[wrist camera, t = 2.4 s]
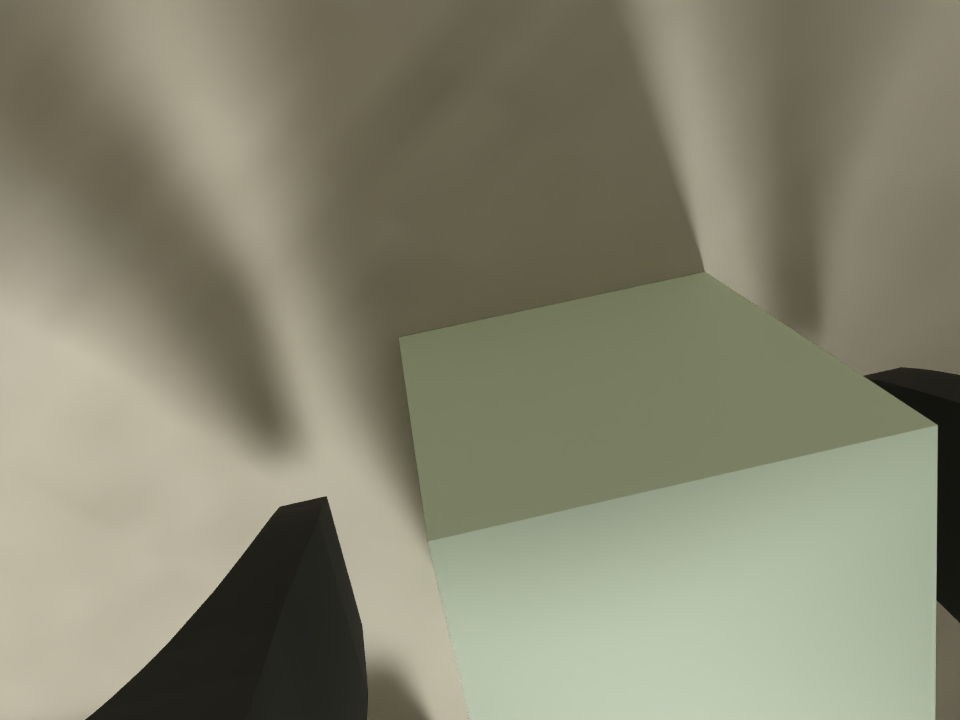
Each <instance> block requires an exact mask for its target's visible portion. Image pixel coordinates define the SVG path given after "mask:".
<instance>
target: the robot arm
mask: <svg viewBox="0 0 960 720" xmlns="http://www.w3.org/2000/svg"><path fill="white" fill-rule="evenodd" d="M864 377H865V378H867V379H868V380H870V381H871V382H873V383H874V384H876V385H878V386H879V387H881V388H882V389H884V390H885V391H887V392H888V393H890V394H891V395H893V396H894V397H896V398H897V399H899V400H900V401H902V402H903V403H905V404H906V405H908V406H909V407H911V408H912V409H914V410H915V411H917V412H919V413H920V414H922V415H923V416H925V417H926V418H928V419H929V420H931V421H932V422H934V423H935V424H937V425H938V457H937V576H936V600H937V601H938V602H939V603H940V604H941V605H942V606H943V607H944V608H945V609H946V610H947V611H948V612H949V613H950V614H951V615H952V616H953V617H954V618H956V619H957V620H958V621H959V622H960V375H956V374H950V373H944V372H939V371H932V370H925V369H916V368H897V369H892V370H888V371H883V372H879V373H874V374H870V375H865V376H864ZM367 710H368V687H367V674H366V662H365V651H364V640H363V629H362V623H361V620H360V616H359V612H358V609H357V605H356V601H355V598H354V594H353V590H352V587H351V583H350V580H349V576H348V572H347V569H346V565H345V561H344V558H343V554H342V550H341V547H340V543H339V540H338V536H337V532H336V529H335V525H334V521H333V518H332V514H331V510H330V507H329V503H328V500H327V496H326V497H321V498H317V499H312V500H308V501H303V502H299V503H294V504H290V505H285V506H281V507H279V508H278V510H277V511H276V512H275V513H274V514H273V516H272V517H271V518H270V519H269V521H268V522H267V523H266V525H265V526H264V527H263V529H262V530H261V531H260V533H259V534H258V535H257V537H256V538H255V539H254V541H253V542H252V543H251V545H250V546H249V547H248V549H247V550H246V551H245V553H244V554H243V555H242V556H241V558H240V559H239V560H238V561H237V563H236V564H235V565H234V567H233V568H232V569H231V570H230V572H229V573H228V574H227V575H226V577H225V578H224V579H223V581H222V582H221V583H220V584H219V586H218V587H217V588H216V589H215V591H214V592H213V593H212V594H211V595H210V596H209V598H208V599H207V600H206V601H205V602H204V603H203V604H202V605H201V607H200V608H199V609H198V610H197V611H196V612H195V613H194V615H193V616H192V617H191V618H190V619H189V620H188V621H187V622H186V624H185V625H184V626H183V627H182V628H181V629H180V630H179V631H178V633H177V634H176V635H175V636H174V637H173V638H172V639H171V641H170V642H169V643H168V644H167V645H166V646H165V647H164V648H163V649H162V650H161V651H160V652H159V653H158V654H157V655H156V656H155V657H154V658H153V659H152V660H151V661H150V662H149V663H148V664H147V665H146V666H145V667H144V668H143V669H142V670H141V671H140V672H139V673H138V674H137V675H136V676H134V677H133V678H132V679H131V680H130V681H129V682H128V683H127V684H126V685H125V686H124V687H123V688H121V689H120V690H119V691H118V692H117V693H116V694H115V695H114V696H113V697H112V698H111V699H109V700H108V701H107V702H106V703H105V704H104V705H103V706H101V707H100V708H99V709H98V710H97V711H96V712H94V713H93V714H92V715H91V716H89V717H88V718H87V719H86V720H367Z"/></svg>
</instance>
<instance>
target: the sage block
mask: <svg viewBox="0 0 960 720" xmlns="http://www.w3.org/2000/svg"><path fill="white" fill-rule="evenodd" d="M399 345H400V352H401V358H402V365H403V372H404V379H405V386H406V393H407V400H408V407H409V414H410V421H411V428H412V435H413V442H414V449H415V456H416V463H417V470H418V477H419V484H420V491H421V498H422V505H423V512H424V519H425V526H426V533H427V539H428V545H429V549H430V553H431V557H432V562H433V566H434V570H435V575H436V579H437V583H438V587H439V592H440V596H441V600H442V605H443V609H444V613H445V617H446V622H447V626H448V630H449V635H450V639H451V643H452V647H453V652H454V656H455V660H456V664H457V669H458V673H459V677H460V682H461V686H462V690H463V694H464V699H465V703H466V707H467V712H468V716H469V720H935V695H936V576H937V457H938V425H937V424H935V423H934V422H932V421H931V420H929V419H928V418H926V417H925V416H923V415H922V414H920V413H919V412H917V411H915V410H914V409H912V408H911V407H909V406H908V405H906V404H905V403H903V402H902V401H900V400H899V399H897V398H896V397H894V396H893V395H891V394H890V393H888V392H887V391H885V390H884V389H882V388H881V387H879V386H878V385H876V384H874V383H873V382H871V381H870V380H868V379H867V378H865V377H864V376H862V375H861V374H859V373H858V372H856V371H855V370H853V369H852V368H850V367H849V366H847V365H846V364H844V363H843V362H841V361H840V360H838V359H837V358H835V357H833V356H832V355H830V354H829V353H827V352H826V351H824V350H823V349H821V348H820V347H818V346H817V345H815V344H814V343H812V342H811V341H809V340H808V339H806V338H805V337H803V336H802V335H800V334H799V333H797V332H796V331H794V330H792V329H791V328H789V327H788V326H786V325H785V324H783V323H782V322H780V321H779V320H777V319H776V318H774V317H773V316H771V315H770V314H768V313H767V312H765V311H764V310H762V309H761V308H759V307H758V306H756V305H755V304H753V303H751V302H750V301H748V300H747V299H745V298H744V297H742V296H741V295H739V294H738V293H736V292H735V291H733V290H732V289H730V288H729V287H727V286H726V285H724V284H723V283H721V282H720V281H718V280H717V279H715V278H714V277H712V276H710V275H709V274H707V273H706V272H702V273H697V274H693V275H688V276H683V277H679V278H674V279H669V280H665V281H660V282H655V283H651V284H646V285H641V286H637V287H632V288H627V289H623V290H618V291H613V292H609V293H604V294H599V295H595V296H590V297H585V298H581V299H576V300H571V301H567V302H562V303H557V304H553V305H548V306H543V307H539V308H534V309H530V310H525V311H520V312H516V313H511V314H506V315H502V316H497V317H492V318H488V319H483V320H478V321H474V322H469V323H464V324H460V325H455V326H450V327H446V328H441V329H436V330H432V331H427V332H422V333H418V334H413V335H408V336H404V337H399Z"/></svg>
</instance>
